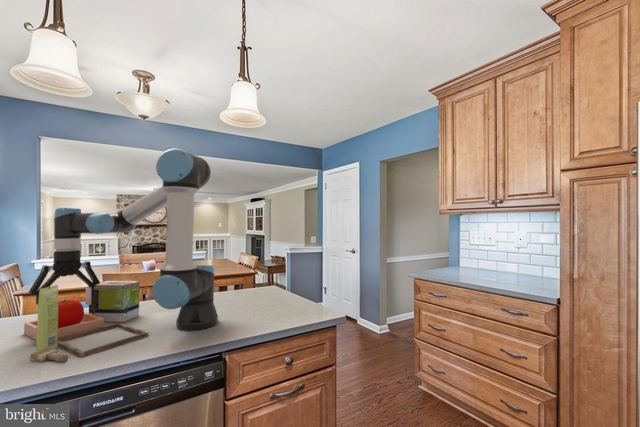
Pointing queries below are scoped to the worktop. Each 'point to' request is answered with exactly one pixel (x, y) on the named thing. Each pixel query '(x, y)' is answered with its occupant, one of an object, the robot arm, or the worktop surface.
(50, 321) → the tube
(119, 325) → the rim
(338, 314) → the worktop surface
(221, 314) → the worktop surface
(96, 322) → the brown wooden flat box
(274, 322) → the worktop surface
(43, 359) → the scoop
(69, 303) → the tomato
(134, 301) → the tea box
